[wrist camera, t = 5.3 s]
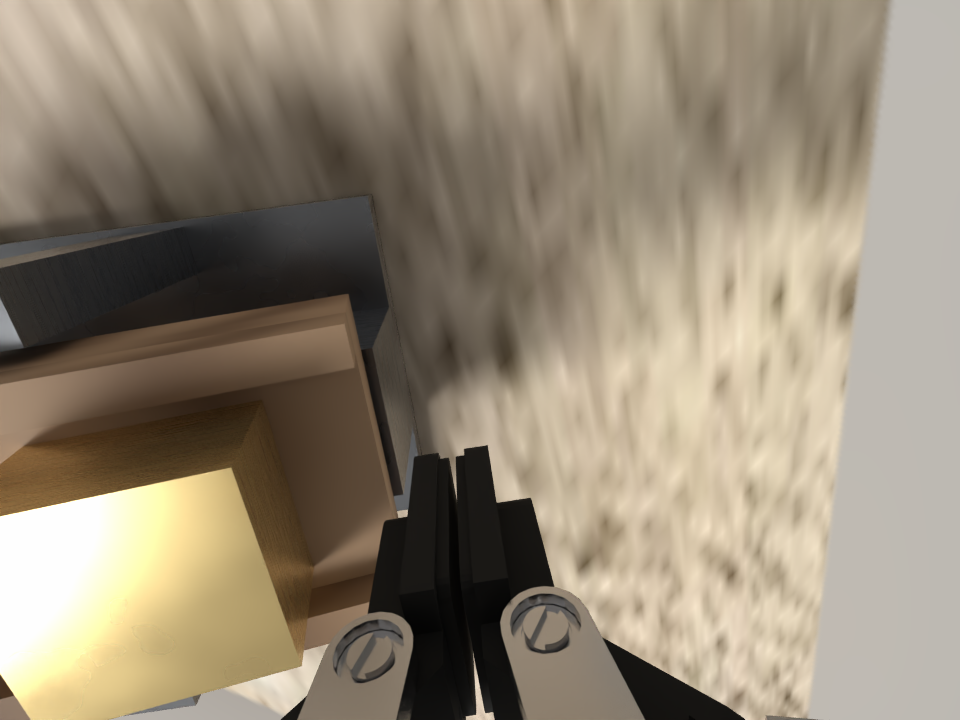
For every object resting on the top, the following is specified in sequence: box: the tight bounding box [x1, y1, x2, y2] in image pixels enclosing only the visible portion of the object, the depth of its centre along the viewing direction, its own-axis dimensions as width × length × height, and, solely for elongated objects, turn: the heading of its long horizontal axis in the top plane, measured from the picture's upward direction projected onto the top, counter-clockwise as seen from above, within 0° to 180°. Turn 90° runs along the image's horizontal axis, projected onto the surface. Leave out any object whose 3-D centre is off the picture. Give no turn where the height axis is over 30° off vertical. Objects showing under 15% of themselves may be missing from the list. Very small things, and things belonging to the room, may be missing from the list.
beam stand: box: [0, 194, 422, 716], centre depth 16 cm, size 19×13×9 cm
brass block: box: [0, 400, 314, 720], centre depth 11 cm, size 5×5×3 cm
